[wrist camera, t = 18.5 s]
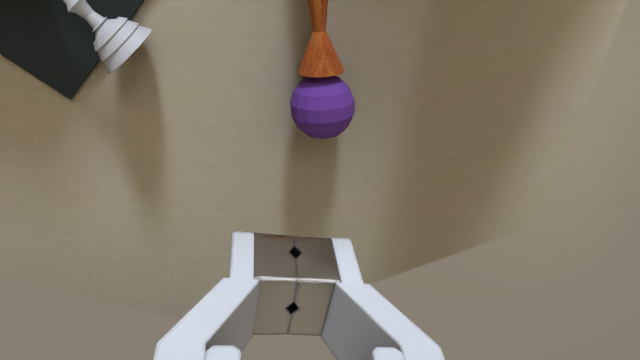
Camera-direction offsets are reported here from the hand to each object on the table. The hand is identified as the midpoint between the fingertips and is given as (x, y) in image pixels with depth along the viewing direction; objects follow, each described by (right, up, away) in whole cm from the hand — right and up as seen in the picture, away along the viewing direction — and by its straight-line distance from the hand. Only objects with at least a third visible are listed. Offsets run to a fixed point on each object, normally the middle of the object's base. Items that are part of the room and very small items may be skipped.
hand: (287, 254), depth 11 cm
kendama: (0, +16, +28) cm, 32 cm away
